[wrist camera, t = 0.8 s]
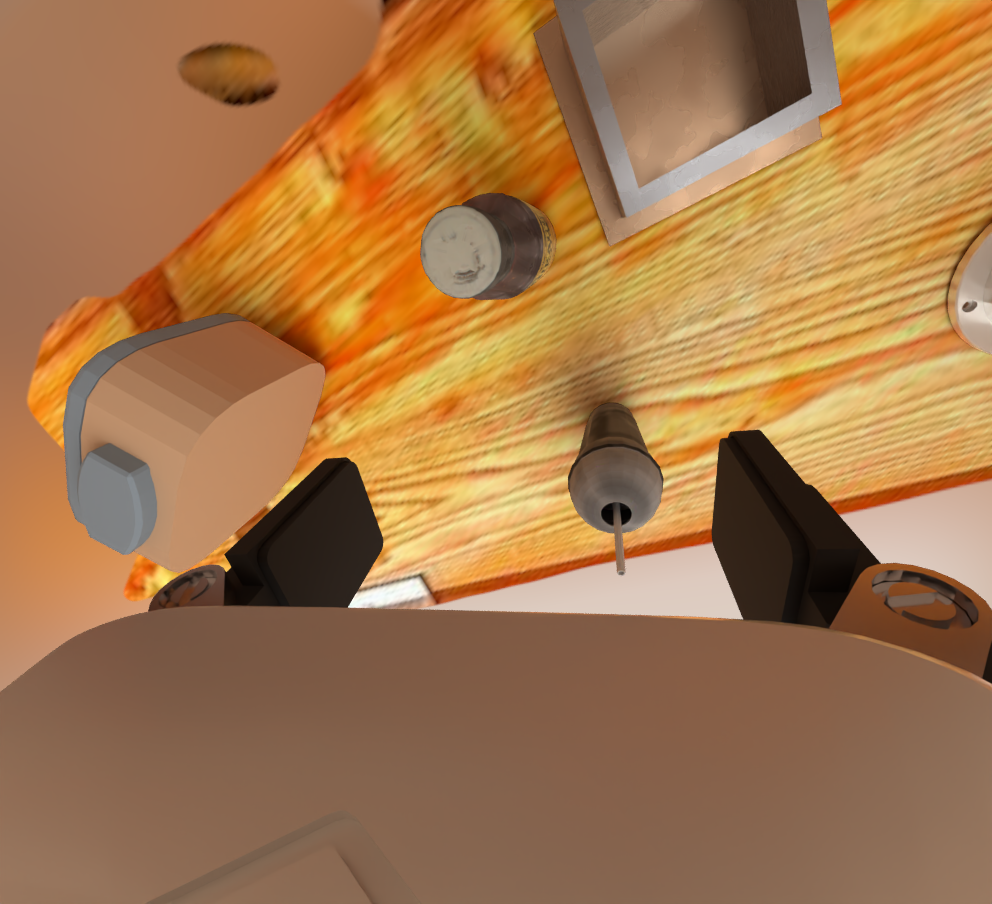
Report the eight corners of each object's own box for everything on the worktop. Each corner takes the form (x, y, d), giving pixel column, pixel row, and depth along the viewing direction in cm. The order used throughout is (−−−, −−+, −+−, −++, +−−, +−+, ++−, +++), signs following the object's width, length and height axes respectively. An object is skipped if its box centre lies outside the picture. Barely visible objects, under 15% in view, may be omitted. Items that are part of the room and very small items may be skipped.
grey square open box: (768, -138, 25) (832, -273, 18) (815, 140, 30) (879, 117, 23) (535, 38, 30) (516, -13, 24) (609, 245, 36) (611, 252, 29)
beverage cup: (644, 383, 41) (677, 505, 24) (652, 449, 44) (686, 600, 27) (568, 396, 43) (548, 516, 26) (581, 458, 46) (570, 602, 29)
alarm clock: (262, 299, 45) (25, 357, 26) (341, 347, 45) (166, 436, 27) (231, 441, 55) (48, 554, 37) (297, 478, 56) (149, 607, 38)
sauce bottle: (544, 292, 39) (501, 352, 22) (479, 270, 39) (387, 312, 22) (570, 213, 35) (543, 210, 18) (499, 189, 35) (408, 164, 18)
